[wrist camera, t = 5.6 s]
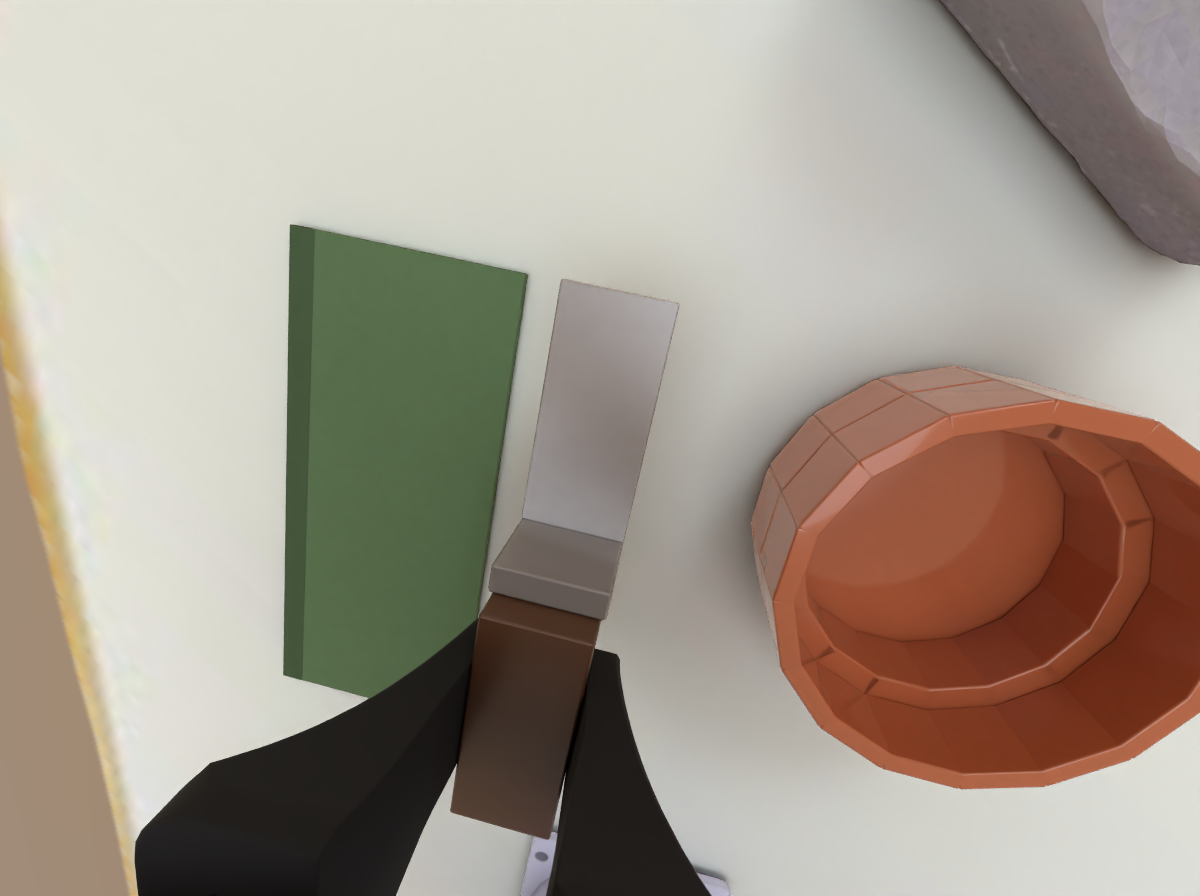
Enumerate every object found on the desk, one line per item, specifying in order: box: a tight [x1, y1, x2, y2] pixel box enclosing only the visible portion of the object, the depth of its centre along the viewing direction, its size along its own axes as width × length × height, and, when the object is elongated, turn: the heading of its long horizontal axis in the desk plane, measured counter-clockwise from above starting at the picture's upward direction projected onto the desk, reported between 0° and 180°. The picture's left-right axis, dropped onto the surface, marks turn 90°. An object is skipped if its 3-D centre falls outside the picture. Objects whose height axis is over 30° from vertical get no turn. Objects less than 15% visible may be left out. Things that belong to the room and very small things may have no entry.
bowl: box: [751, 366, 1200, 789], centre depth 14 cm, size 10×10×5 cm
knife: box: [450, 279, 679, 840], centre depth 12 cm, size 12×3×3 cm, turn 169°
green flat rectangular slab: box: [283, 225, 528, 698], centre depth 19 cm, size 17×7×1 cm, turn 169°
